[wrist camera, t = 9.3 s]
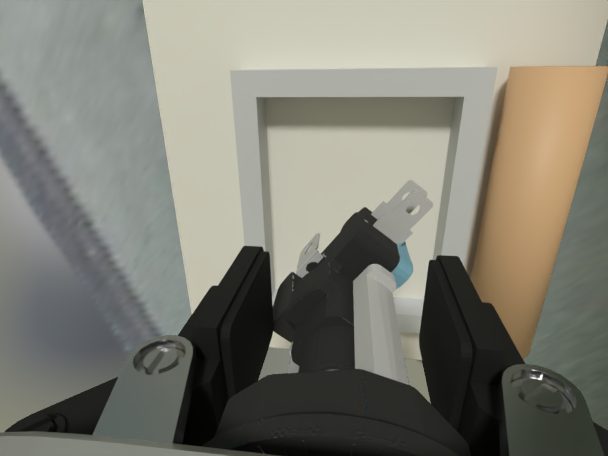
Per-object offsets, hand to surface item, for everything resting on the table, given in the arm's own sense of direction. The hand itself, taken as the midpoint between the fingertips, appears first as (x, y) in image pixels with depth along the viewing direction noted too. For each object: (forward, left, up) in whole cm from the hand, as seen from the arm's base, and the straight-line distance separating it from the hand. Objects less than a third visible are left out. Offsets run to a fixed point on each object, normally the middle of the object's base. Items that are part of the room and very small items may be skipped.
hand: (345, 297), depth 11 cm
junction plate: (0, 0, -9) cm, 9 cm away
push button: (0, 0, -3) cm, 3 cm away
